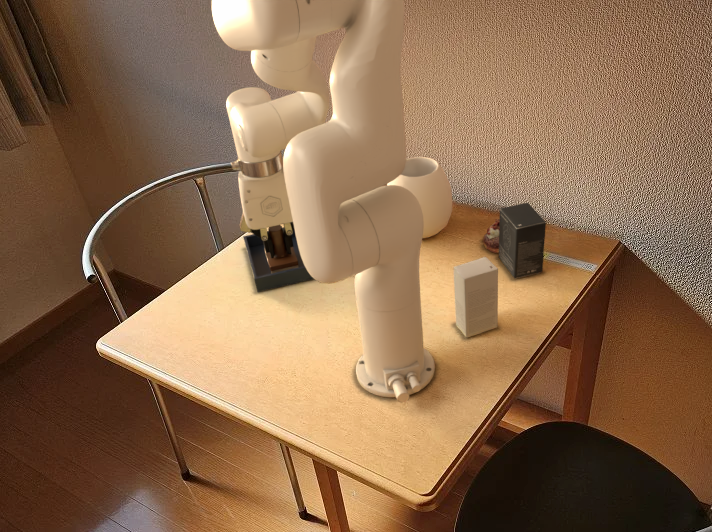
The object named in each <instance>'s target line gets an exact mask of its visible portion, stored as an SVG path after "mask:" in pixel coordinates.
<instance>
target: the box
mask: <svg viewBox="0 0 712 532" xmlns="http://www.w3.org/2000/svg"><path fill="white" fill-rule="evenodd" d="M499 219H500V221H499V253H498V259H499V260H500V262H501V263H502V264H503V266H504V267H505V268H506V270H507V271H508V272H509V273H510V275H511V276H512V278H513V279H520V278H524V277H525V278H526V277H529V276H532V275H533V276H534V275H537V274H541V273H542V272H543V265H544V254H545V243H546V242H545V241H546V227H547V222H546V221H545V219H544V218H543V217H542V216H541V215H540V214H539V213H538V212H537V211H536V209H535V208H534V207H533V206H531V204H530V203H529V202H525V203H523V202H522V203H518V204H515V205H510V206H505V207H501V208H499Z"/></svg>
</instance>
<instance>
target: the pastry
mask: <svg viewBox="0 0 712 532" xmlns="http://www.w3.org/2000/svg"><path fill="white" fill-rule="evenodd" d="M499 221H500V218H496V219H495V221H494V222H493V224H491V225H490V226H489V227H487V230H486V233H485V234H484V236H483V238H482V243H483V246H484V247H485V249H486V250H488V251H489V252H491V253H495V254H499Z"/></svg>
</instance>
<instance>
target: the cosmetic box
mask: <svg viewBox="0 0 712 532" xmlns="http://www.w3.org/2000/svg"><path fill="white" fill-rule="evenodd" d="M453 286H454V289H453V290H454V311H455V313H454V314H455V315H454V316H455V326H456V327H457V329H459V330H460V332H461V333H462V335H464V337H465V338H466V339H468V338H471V337H473V336H476V335H479V334H482V333H485V332H487V331H490V330H495V329H497V328H498V327H499V325H498V324H499V322H498V321H499V320H498V319H499V318H498V317H499V316H498V315H499V311H498V310H499V268H498V267H497V266H496V265H495V264H494V263H493V262H492V261H491V260H490V259H489V258H488V257H486V256H483V257H480V258H476V259H474V260H471V261H468V262H465V263H462V264H459V265H454V266H453Z"/></svg>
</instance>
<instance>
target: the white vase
mask: <svg viewBox="0 0 712 532" xmlns="http://www.w3.org/2000/svg"><path fill="white" fill-rule="evenodd" d="M387 185H397V186H401V187H404V188H406V189H408V190H409V191H410V192H411V193H413V195H414V196H415V197H416V198H417V200H418V202H419V204H420V206H421V209H422V213H423V222H424V228H423V237H422V239H426V238H427V239H428V238H431V237H433V236H435V235H437V234H439V233H440V232H441V231H442V230H444V229H445V228H446V227H447V226H448V223H449V221H450V219H451V215H452V213H453V193H452V192H453V191H452V185H451V183H450V181H449V179H448V176H447V175H446V172H445V170H444V169H443V167H442V166H441V164H440V162H439V161H438V160H435V159H434V158H430V157H426V156H415V157H408V158H406V164H405V167H404V170H403V172H402V173H401V175H400V176H399V177H397V178H396V179H395V180H393V181H391V182H389V183H387V184H386V186H387Z"/></svg>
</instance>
